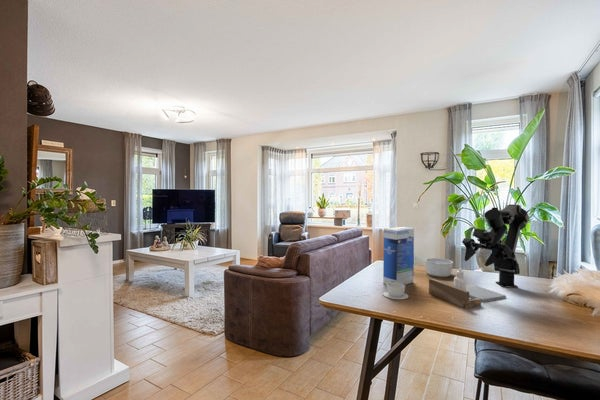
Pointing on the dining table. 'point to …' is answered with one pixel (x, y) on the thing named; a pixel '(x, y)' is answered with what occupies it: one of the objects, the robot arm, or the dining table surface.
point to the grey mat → (483, 294)
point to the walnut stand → (452, 294)
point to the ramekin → (438, 267)
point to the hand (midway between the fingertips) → (475, 262)
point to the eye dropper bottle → (459, 280)
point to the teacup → (395, 291)
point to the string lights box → (398, 255)
